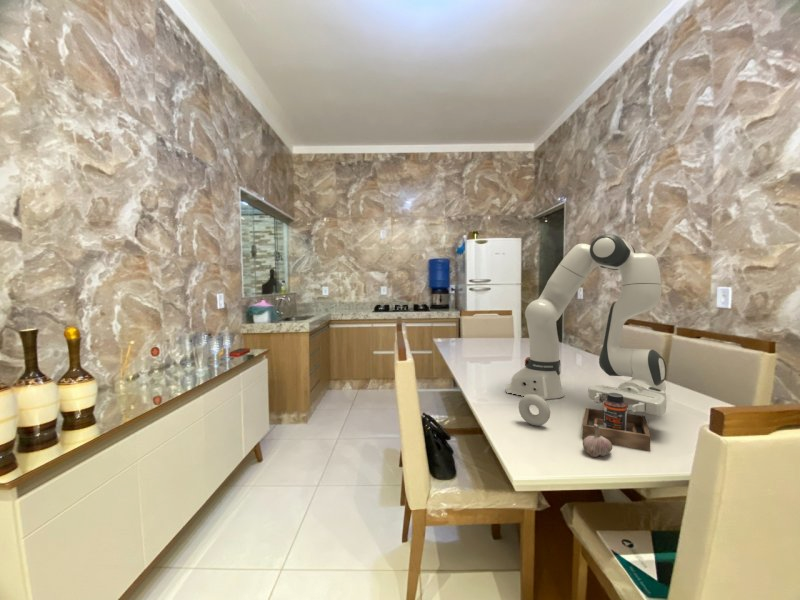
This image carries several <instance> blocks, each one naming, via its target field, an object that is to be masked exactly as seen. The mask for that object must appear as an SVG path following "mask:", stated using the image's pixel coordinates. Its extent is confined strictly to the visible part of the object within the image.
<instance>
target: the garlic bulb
mask: <svg viewBox="0 0 800 600" xmlns="http://www.w3.org/2000/svg"><path fill="white" fill-rule="evenodd" d="M594 428H595V436H588V437H586V438H585V439H582V447H583V448H582V449H583V450H584V451H585V453H587V454H589V456H591V457H592V458H597V457H599V456H602V457H603V456H607V455H609V454H610V452H612V451H613V444H611V442H610V441H609V440H608V439H606V438H604V437H602V436H600V433H599V427H598V425H597V424H594Z"/></svg>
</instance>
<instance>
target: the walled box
mask: <svg viewBox="0 0 800 600" xmlns="http://www.w3.org/2000/svg"><path fill="white" fill-rule="evenodd" d="M603 410H604V409H596V408H589V407H585V409H584V415H583V421H582V440H584V439H585V438H586V437H588V436H595V428H594V424H597V425H598V427H599V433H600V436H602V437H604V438H606V439H608V440H609V441H610V442H611V444H612V446H613V445H614V446H620V447H624V446H625V447H624V448H630V449H631V448H632V449H635V450H641V451H646V452H651V434H650V430H649V426H648V422H647V420H646V416H645V415H640V414H639V415H638V414H634V413H633V414H632V413H627V427H626V431H622V430H616V429H610V428H603Z"/></svg>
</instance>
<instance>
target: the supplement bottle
mask: <svg viewBox="0 0 800 600" xmlns="http://www.w3.org/2000/svg"><path fill="white" fill-rule="evenodd" d="M607 398H608V399H607V400H605V401H604V402H603V409H602V410H603V428H610V429H616V430H622V431H626V427H627V414H628V408H627V405H626V403H625V402H624V401H623V395H621V394H618V393H608V397H607Z"/></svg>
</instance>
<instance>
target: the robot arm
mask: <svg viewBox="0 0 800 600" xmlns="http://www.w3.org/2000/svg"><path fill="white" fill-rule="evenodd" d="M598 267H600V268H604V269H606V270H607V269H608V270H611V271H612V270H613V271H619V273H620V275H621V290H620V294H619V297H618V299H617V300H616V301H615V302H613V303H612V304H611V306H610V309H609V313H608V317H607V323H606V327H605V331H604V332H605V334H604V338H603V343H602V344H603V345H602V348H601V351H600V354H599V357H598V364H599V367H600V368H601V371H603V372H604V373H605V374H606V375H608V376H610V377H628V378H631V379H629V380H627V381H624V382H623V383H622V382H621V383H620V384H619V385H618V386H617V387H613V386H609V385H604V384H598V385H592V386H590V387H588V390H587V396H588V398H589V400H593V401H594V403H597V404H602V403H604V401H605V400H607V399H608V398H607V397H608V393H618V394H621V395H623V401H624V402H625V403H626V405H627V412H631V413H636V412H642V413H646V414H650V415H653V416H658V417H659V416H663V415H665V413H666V411H667V406H668V405H667V403H668V402H667V393H666V390H667V385H666V382H665V380H666V378H667V365H666V362H665V359H664V358H663V357H662V355H661V354H660V352H657V351H656V350H655V349H649V348H648V349H647V348H628V347H627V348H626V347H621V346H620V345H621V344H620V343H621V339H622V334H623V328H624V325H625V323H626V322H627V321H628V320H629V319H631V318H634V317H636V316H638V315H641V314H645V313H647V312H649V311H651V310H652V309H654V308H655V307H656V306H657V305H659V303H660V301H661V297H662V279H661V271H660V270H661V269H660V266H659V261H658V259H657V258H656V256H654V255H653V254H651V253H647V252H638V253H637V252H636V250H635V248H634V246H633V245H632V244H630V243H629V242H628V241H627V240H626V239H624V238H623V237H620V236H618V235H615V234H612V233H611V234H610V233H609V234H608V233H607V234H601V235H599V236H598V237H595V239H593V240H592V242H591V244H588V243H578V244H575V245H574V246H572V248H571V249H570V250H569V251H568V253H567V254H565V256H564V257H563V259H562V260H561V261H560V263H558V266H557V267H556V268H555V269H554V271H553V272H552V274H551V275H550V277H549V279H548V280H547V282H546V285H545V286H544V289H543V290H542V292H541V294H540V296H539V297H538V298H537V299H534V300H532V301H530V303H528V305H527V307H526V309H525V311H524V316H525V320H526V326H527V332H528V338H529V356H527V357H526V358H525V360H524V367H523V368H521V369H519V371H517V372H516V373H514V374H513V376H512V377H511V380H510V384H508V385H507V386H506V387H505V390H506V392H508V393H512V394H511V395H513V394H517V395H516V396H518V395H521V396H520V397H523V396H526V395H529V394H535V395H537V396H540V397H541V398H543V399H544V400H545V401H546V400H551V399H553V400H554V399H560V398H562V397H564V396H565V393H564V390H563V386H562V381H561V380H562V379H561V373H562V372H561V371H562V366H561V365H562V364H561V360H560V340H559V335H558V330H557V329H558V328H557V321H558V320H559V319H560V318H561V316H562V315H563V313H564V312H565V310H566V308H567V307H568V305H570V302H571V301H572V300H573V298H574V296H575V295H576V293H577V292H578V291H579V290H580V288H581V286H582V285H583V284H584V282H586V281H585V280H586V279H587V278H588V277H589V275H590V274H591V273H592V272H593V270H594V269H595V268H598ZM505 390H504V391H505ZM506 392H505V393H506ZM508 393H507V394H508Z"/></svg>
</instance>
